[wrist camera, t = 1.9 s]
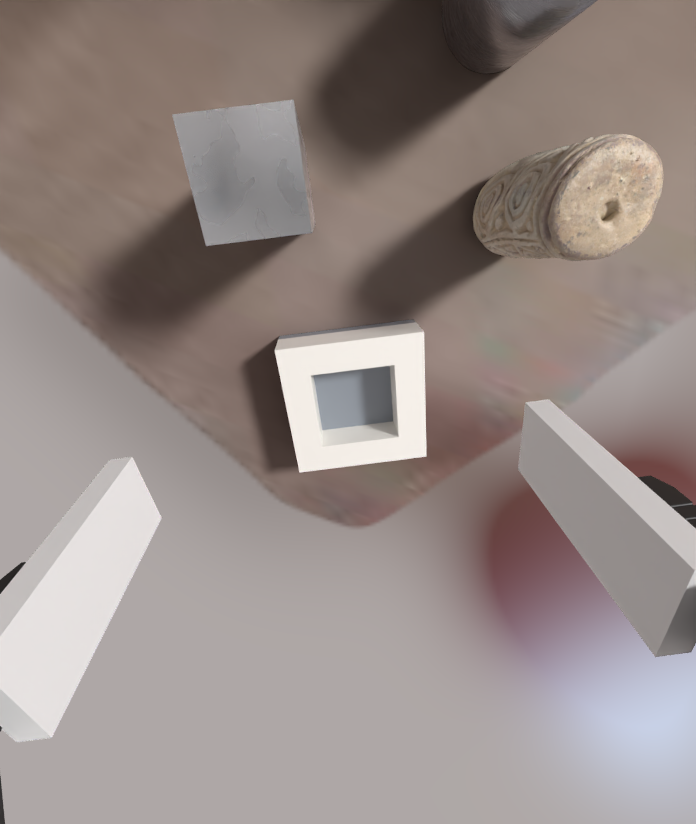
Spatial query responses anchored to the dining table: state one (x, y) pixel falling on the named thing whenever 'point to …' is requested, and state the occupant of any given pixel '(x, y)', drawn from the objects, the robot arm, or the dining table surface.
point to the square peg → (247, 171)
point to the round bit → (502, 29)
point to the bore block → (355, 394)
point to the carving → (571, 200)
